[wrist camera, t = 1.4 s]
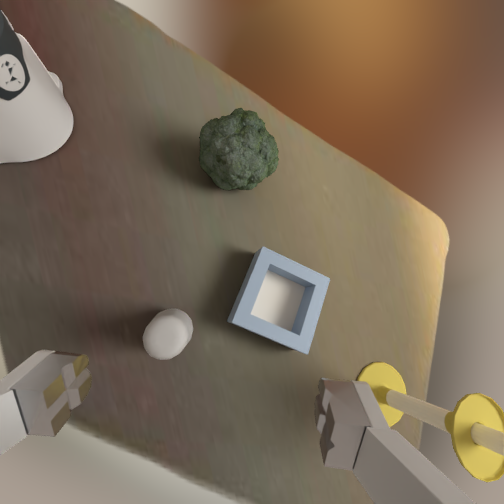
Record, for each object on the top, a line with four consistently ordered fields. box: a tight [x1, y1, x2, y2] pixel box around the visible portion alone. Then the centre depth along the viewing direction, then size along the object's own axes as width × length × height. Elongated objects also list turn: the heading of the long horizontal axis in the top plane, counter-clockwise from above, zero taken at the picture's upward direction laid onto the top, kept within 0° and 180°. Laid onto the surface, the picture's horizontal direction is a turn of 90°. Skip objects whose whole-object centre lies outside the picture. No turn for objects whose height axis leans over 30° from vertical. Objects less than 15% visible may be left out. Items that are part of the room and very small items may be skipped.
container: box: [227, 247, 330, 355], centre depth 39 cm, size 12×12×4 cm
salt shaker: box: [143, 309, 193, 360], centre depth 30 cm, size 6×6×13 cm
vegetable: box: [199, 108, 279, 190], centre depth 41 cm, size 12×13×15 cm
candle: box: [357, 362, 504, 482], centre depth 27 cm, size 10×10×32 cm
